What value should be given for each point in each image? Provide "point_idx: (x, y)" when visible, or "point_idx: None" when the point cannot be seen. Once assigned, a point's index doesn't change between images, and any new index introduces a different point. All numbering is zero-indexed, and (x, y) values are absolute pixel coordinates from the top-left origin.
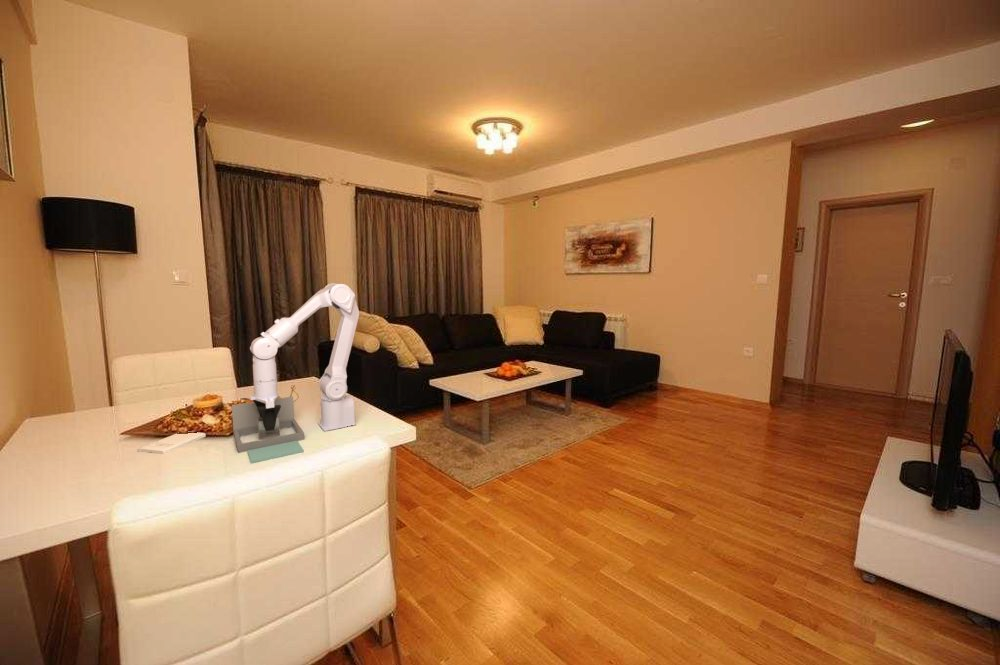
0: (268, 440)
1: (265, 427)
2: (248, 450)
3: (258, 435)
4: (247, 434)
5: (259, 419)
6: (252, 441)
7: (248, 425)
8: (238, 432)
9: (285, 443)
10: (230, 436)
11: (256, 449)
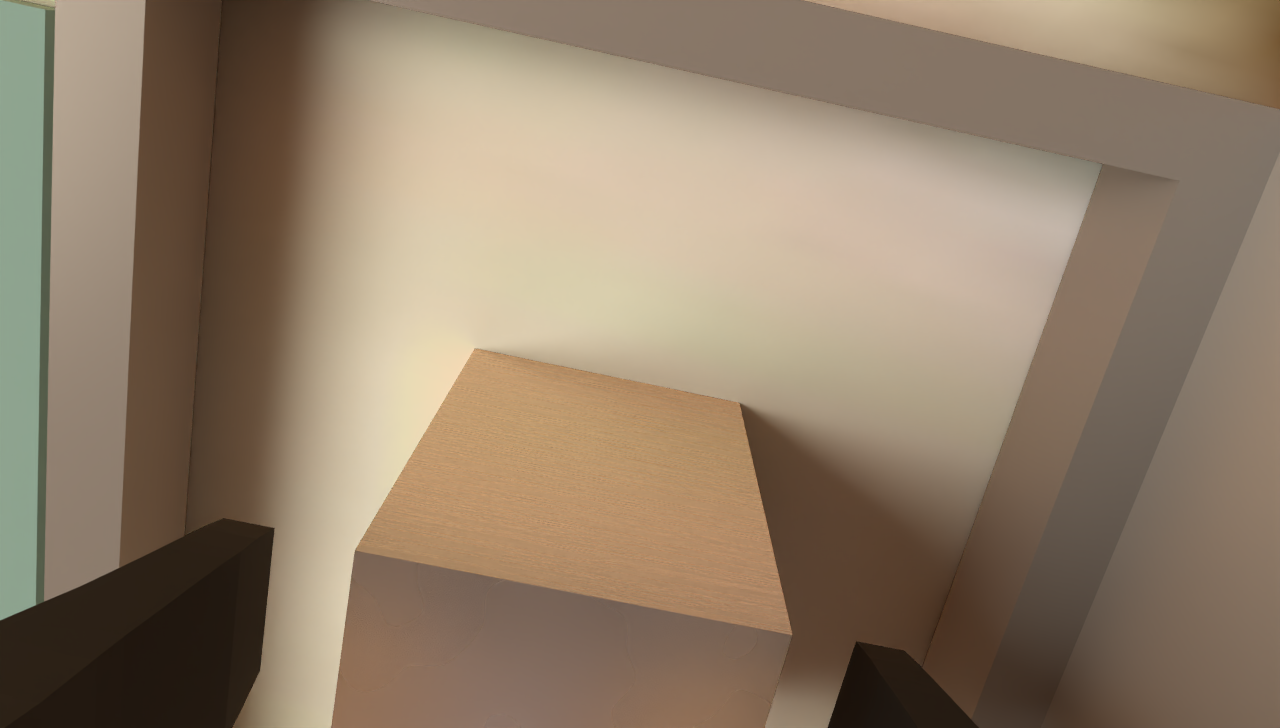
0: (60, 423)
1: (154, 558)
2: (36, 26)
3: (647, 411)
4: (1051, 319)
5: (547, 629)
6: (138, 168)
7: (1193, 424)
8: (983, 133)
9: (2, 598)
10: (1260, 46)
11: (1, 157)
